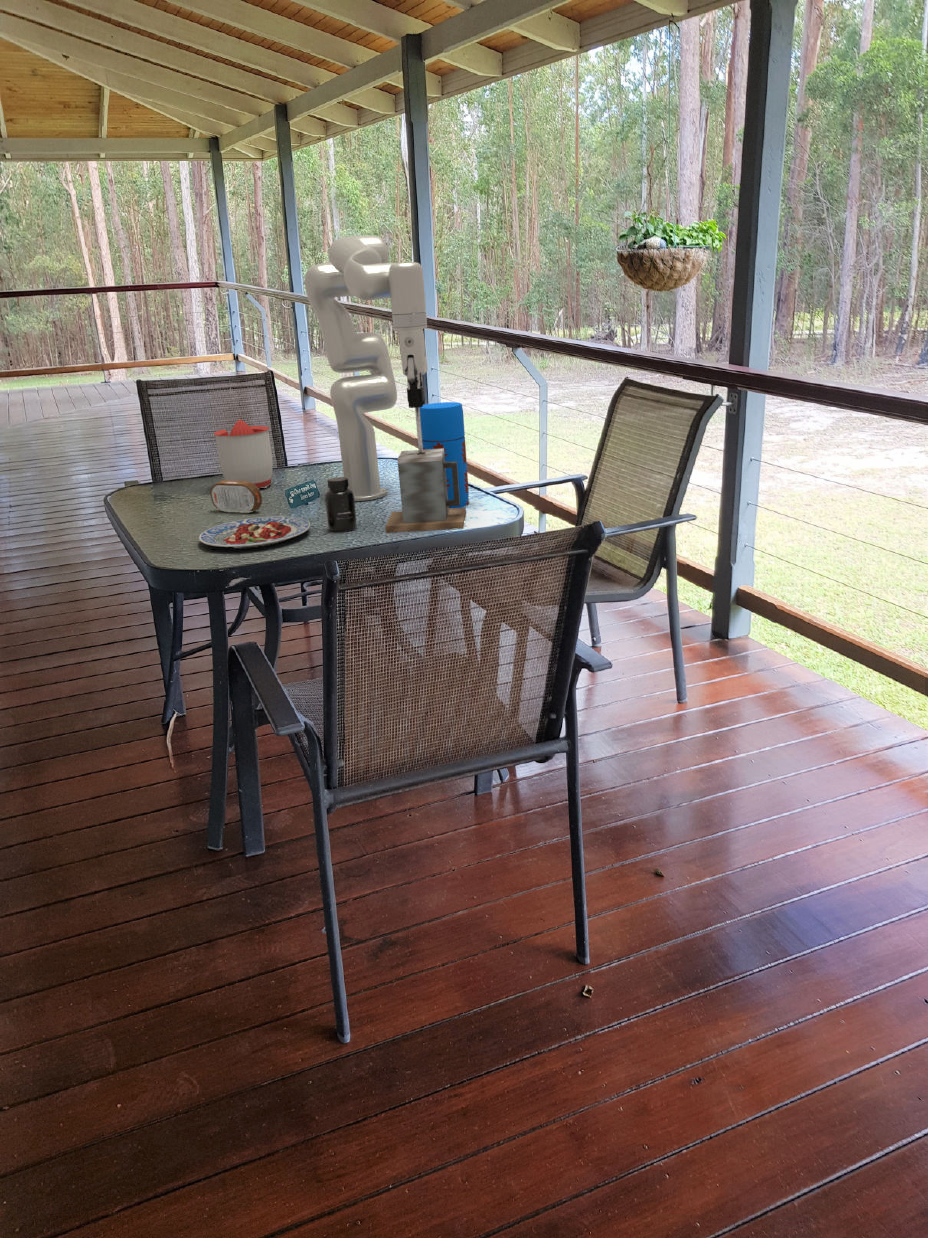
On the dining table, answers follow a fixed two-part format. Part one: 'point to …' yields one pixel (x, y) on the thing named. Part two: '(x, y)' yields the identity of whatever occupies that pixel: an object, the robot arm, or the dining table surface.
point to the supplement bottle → (340, 505)
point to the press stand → (426, 493)
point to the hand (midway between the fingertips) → (416, 404)
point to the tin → (236, 495)
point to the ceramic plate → (256, 531)
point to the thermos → (447, 441)
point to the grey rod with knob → (419, 423)
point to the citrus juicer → (245, 454)
